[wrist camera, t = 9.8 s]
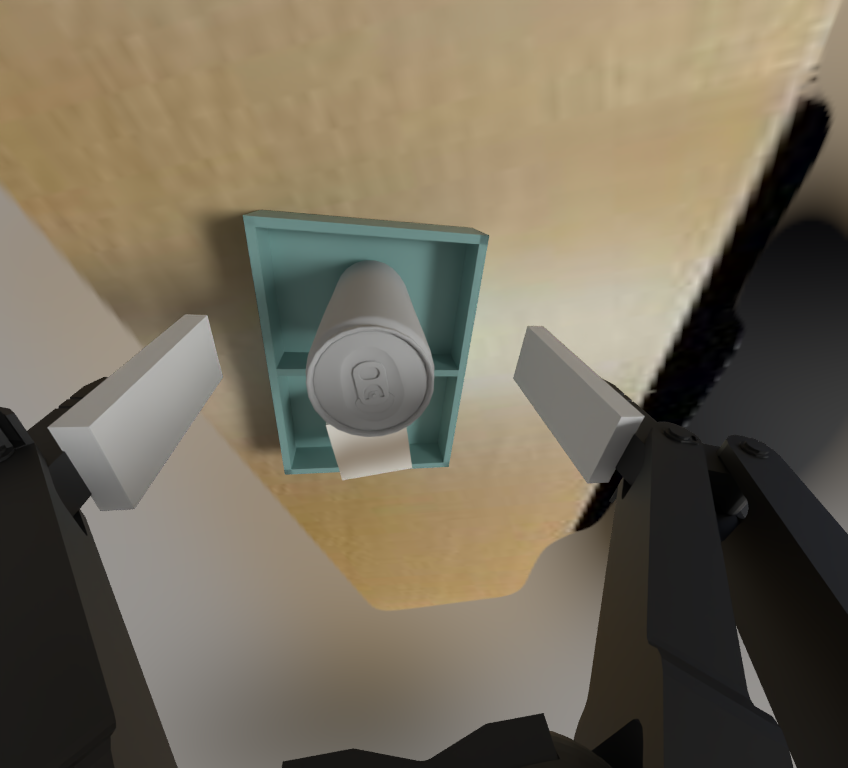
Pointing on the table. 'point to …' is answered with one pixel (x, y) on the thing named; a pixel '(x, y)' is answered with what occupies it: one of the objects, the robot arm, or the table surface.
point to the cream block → (369, 453)
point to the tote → (310, 295)
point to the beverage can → (370, 355)
